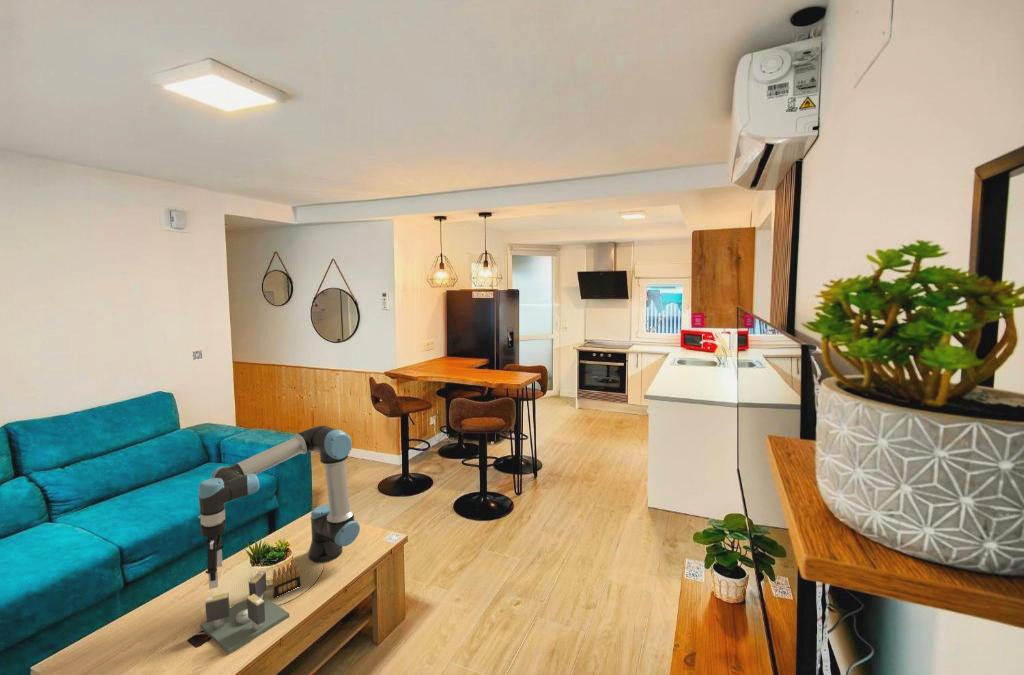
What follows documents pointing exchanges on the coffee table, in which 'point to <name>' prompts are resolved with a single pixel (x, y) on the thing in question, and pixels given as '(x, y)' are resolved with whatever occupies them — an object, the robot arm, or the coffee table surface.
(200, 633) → the smartphone
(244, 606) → the plate
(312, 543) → the robot arm
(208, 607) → the knob
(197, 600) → the coffee table surface
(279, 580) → the ammunition clip
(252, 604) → the knob
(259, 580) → the grey brown rectangular block
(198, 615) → the coffee table surface
